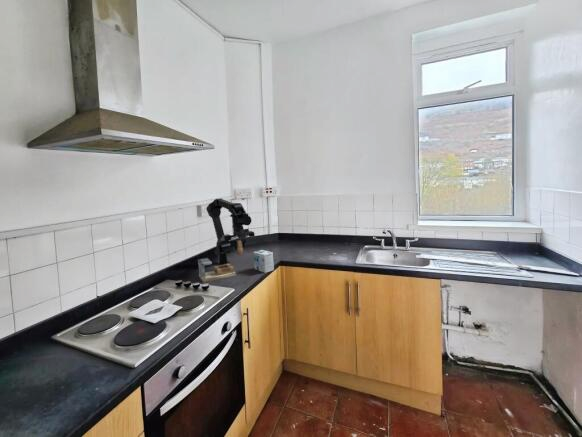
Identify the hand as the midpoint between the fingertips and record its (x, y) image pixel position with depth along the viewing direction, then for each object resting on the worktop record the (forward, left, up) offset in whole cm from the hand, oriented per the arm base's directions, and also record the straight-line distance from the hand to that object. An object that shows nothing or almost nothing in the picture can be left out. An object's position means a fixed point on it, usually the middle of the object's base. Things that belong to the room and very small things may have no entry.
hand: (239, 249), depth 170 cm
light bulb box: (+12, +10, -12) cm, 20 cm away
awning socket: (+5, -16, -12) cm, 20 cm away
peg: (0, 0, -3) cm, 3 cm away
